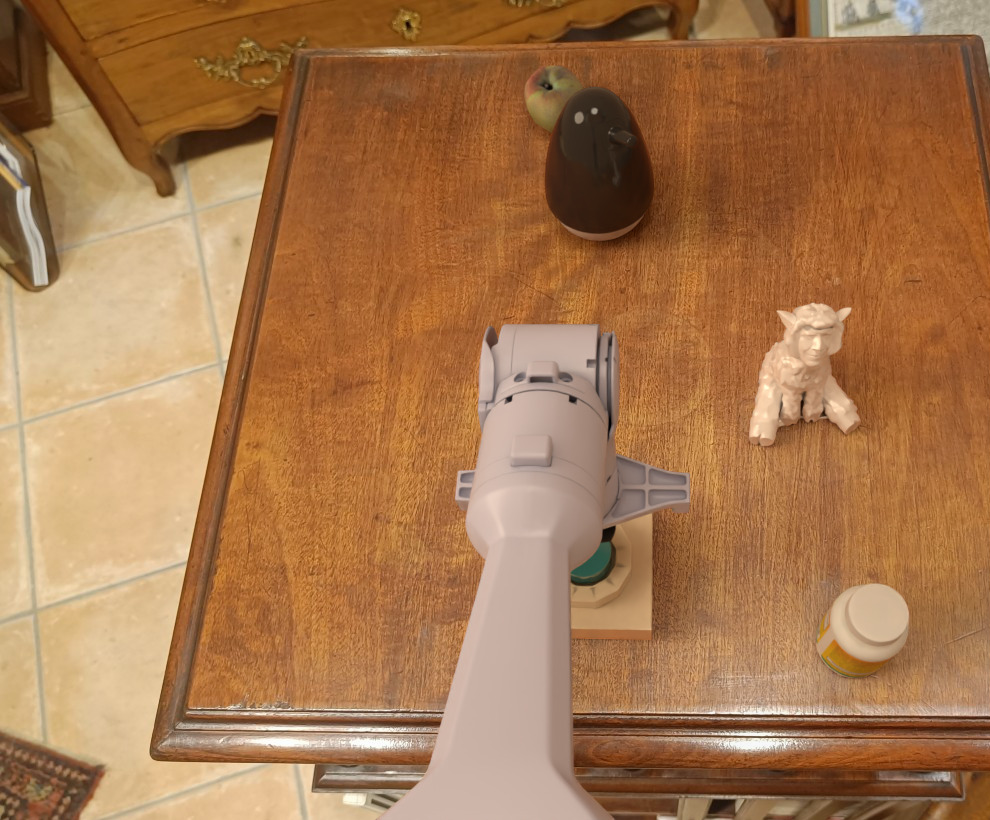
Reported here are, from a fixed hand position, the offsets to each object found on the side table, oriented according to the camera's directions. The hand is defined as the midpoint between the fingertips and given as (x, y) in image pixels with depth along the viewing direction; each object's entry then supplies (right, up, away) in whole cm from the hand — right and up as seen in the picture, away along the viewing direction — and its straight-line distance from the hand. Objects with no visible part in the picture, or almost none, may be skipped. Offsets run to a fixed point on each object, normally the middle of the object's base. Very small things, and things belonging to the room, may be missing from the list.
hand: (581, 534), depth 65 cm
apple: (-3, +39, +31) cm, 50 cm away
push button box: (0, -4, +8) cm, 9 cm away
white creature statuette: (+18, +10, +14) cm, 25 cm away
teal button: (0, -2, +4) cm, 5 cm away
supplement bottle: (+20, -9, +5) cm, 23 cm away
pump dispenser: (+2, +28, +24) cm, 37 cm away
